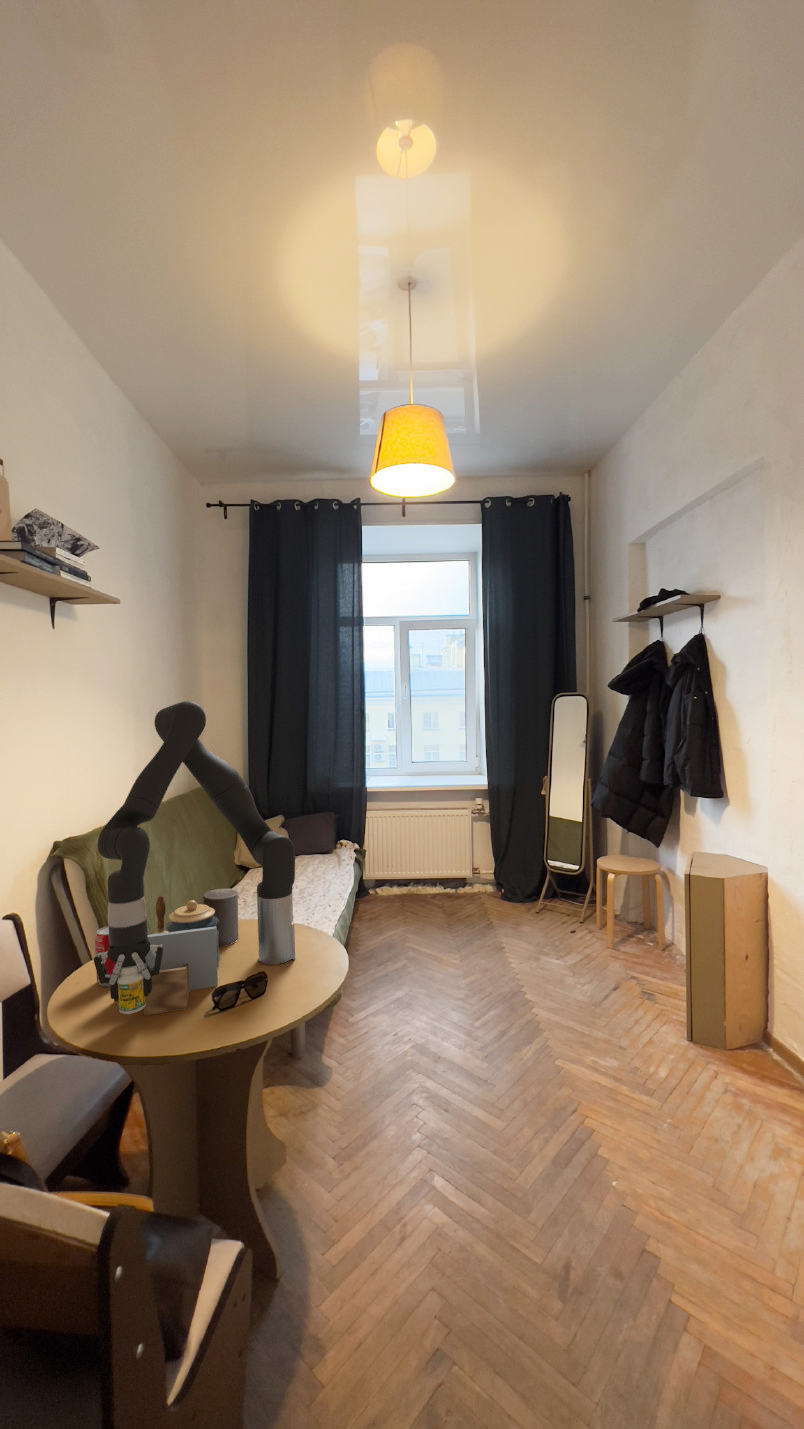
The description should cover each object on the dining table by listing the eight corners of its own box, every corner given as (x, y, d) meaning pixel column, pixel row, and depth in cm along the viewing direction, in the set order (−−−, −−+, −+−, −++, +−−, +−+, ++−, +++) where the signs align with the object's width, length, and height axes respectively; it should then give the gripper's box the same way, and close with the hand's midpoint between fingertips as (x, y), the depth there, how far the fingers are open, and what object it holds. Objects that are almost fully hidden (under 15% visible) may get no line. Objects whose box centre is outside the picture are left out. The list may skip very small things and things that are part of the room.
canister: (185, 956, 164) (183, 891, 163) (229, 959, 161) (227, 893, 161) (156, 977, 151) (153, 907, 151) (203, 981, 148) (201, 910, 148)
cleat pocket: (189, 990, 144) (188, 953, 144) (187, 1008, 135) (185, 968, 135) (148, 996, 141) (147, 958, 141) (143, 1015, 133) (142, 974, 132)
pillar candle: (197, 946, 170) (196, 893, 170) (213, 933, 180) (212, 883, 180) (229, 948, 169) (228, 895, 168) (244, 934, 178) (243, 884, 178)
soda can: (116, 989, 145) (114, 935, 145) (90, 987, 147) (88, 934, 147) (134, 975, 152) (133, 924, 152) (109, 974, 154) (107, 923, 154)
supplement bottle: (148, 1000, 133) (145, 957, 133) (143, 1012, 128) (141, 967, 127) (121, 1004, 132) (119, 960, 131) (116, 1016, 126) (113, 971, 126)
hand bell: (170, 945, 172) (168, 889, 172) (182, 953, 166) (180, 895, 165) (140, 953, 166) (138, 896, 166) (151, 962, 160) (149, 903, 160)
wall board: (217, 983, 147) (216, 926, 147) (217, 986, 146) (215, 928, 145) (119, 998, 141) (117, 938, 140) (118, 1001, 139) (116, 941, 139)
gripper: (165, 908, 135) (168, 983, 135) (93, 918, 131) (98, 995, 131) (162, 920, 128) (166, 999, 128) (86, 930, 123) (91, 1012, 124)
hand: (131, 996), depth 130 cm, fingers closed on supplement bottle, 5 cm apart
